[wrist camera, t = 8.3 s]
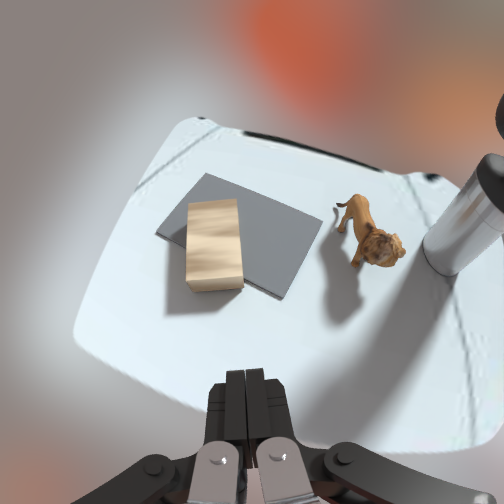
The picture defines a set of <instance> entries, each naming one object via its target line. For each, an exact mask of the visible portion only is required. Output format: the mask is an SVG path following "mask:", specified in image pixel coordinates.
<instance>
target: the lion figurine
mask: <svg viewBox="0 0 504 504" xmlns="http://www.w3.org/2000/svg"><path fill="white" fill-rule="evenodd" d="M336 204H337V206H338V207H345V206H347V208H346V213H345V215H344V216H343V218H342V220H341V223H340V225H339V227H338V231H339V232H344V231H345V222H346V221H347V219H349V218H350V217H353V227H354V233H355V236H356V238H357V240H358V242H359V245H358V248H357V251H356V254H355V256H354V258H353V260H352V262H351V265H352V266H353V267H358V266H359V262H360V259H361V258H362V257H363V259H364V260H367V261H368V263H370V264H371V265H374V264H376V265H378V266H381V267H392V266H394V265H395V263H396V261H397V260H398V258H402V257H403V256H404V255H405V254H406V250H405V249H404V248H402V245H401V244H402V242H401V240H400V239H399V238H398V235H397V234H396V233H395V234H393V235H391V234H389V233H388V234H387V233H386V232H385V231H384V230H381V229H377V228H376V226H375V224H374V221H373V219H372V217H371V215H370V212H369V202H368V200H367V199H366V198H365V197H364V196H361V195H360V194H355V195H353V196H352V198H351V199H350V200H349V201H348V202H347V203H344V204H341V203H336Z"/></svg>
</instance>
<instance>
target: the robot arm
mask: <svg viewBox="0 0 504 504" xmlns="http://www.w3.org/2000/svg"><path fill="white" fill-rule="evenodd" d="M495 120H496V126H497V129H498V131H499V133H500V135H501V136H502V138H503V139H504V94H503V96H502V98H501V99H500V102H499V104H498V107H497V110H496V117H495ZM503 233H504V157H503V156H500V155H497V154H492V153H490V154H487V155H485V156H484V157H483V158H482V160H481V161H480V163H479V164H478V166H477V167H476V169H475V170H474V172H473V173H472V175H471V176H470V178H469V179H468V180H467V182H466V183H465V185H464V186H463V188H462V189H461V190H460V192H459V193H458V195H457V196H456V197H455V198H454V200H453V201H452V202H451V204H450V205H449V206H448V208H447V209H446V210H445V211H444V213H443V214H442V215H441V216H440V218H439V219H438V220H437V221H436V223H435V224H434V225H433V226H432V228H431V229H430V230H429V231H428V233H427V234H426V235H425V237H424V240H423V249H424V253H425V256H426V258H427V260H428V262H429V263H430V265H431V266H432V267H433V268H434V269H435V270H436V271H437V272H439V273H440V274H442V275H444V276H454V275H456V274H457V273H458V272H460V271H461V270H462V269H463V268H465V267H466V266H467V265H468V264H470V263H471V262H472V261H473V260H474V259H475V258H477V257H478V256H479V255H480V254H481V253H482V252H483V251H485V250H486V249H487V248H488V247H489V246H490V245H491V244H492V243H493V242H494V241H496V240H497V239H498V238H499V237H500V236H501V235H502V234H503ZM252 457H253V462H254V467H255V468H259V474H260V480H261V485H262V491H263V496H264V501H265V504H321V503H320V501H319V499H318V497H317V496H319V497H321V498H322V499H323V500H325V501H327V502H329V503H330V504H497V502H496V499H495V498H494V496H492V495H491V494H489V493H485V492H481V491H476V490H473V489H469V488H465V487H462V486H458V485H455V484H452V483H449V482H446V481H443V480H440V479H437V478H434V477H431V476H429V475H426V474H423V473H421V472H418V471H415V470H413V469H410V468H408V467H405V466H403V465H401V464H398V463H396V462H394V461H391V460H389V459H387V458H385V457H382V456H380V455H378V454H376V453H374V452H372V451H370V450H368V449H366V448H364V447H362V446H360V445H358V444H355V443H352V442H342V443H338V444H336V445H334V446H332V447H331V448H330V449H314V448H309V447H306V446H304V445H302V444H300V443H299V442H298V441H297V440H296V438H295V436H294V433H293V428H292V423H291V418H290V413H289V409H288V404H287V399H286V394H285V389H284V386H283V385H282V384H281V383H280V381H279V380H278V379H268V380H264V372H263V368H258V369H247V370H246V378H245V371H244V370H235V371H227V372H226V383H218V384H214V386H213V387H212V389H211V390H210V392H209V398H208V407H207V418H206V428H205V439H204V444H203V446H202V447H201V448H200V449H199V451H198V452H197V453H196V454H194V455H192V456H189V457H186V458H182V459H177V460H172V461H171V460H170V459H168V457H166V456H163V455H159V454H154V455H148V456H146V457H144V458H142V459H141V460H139V461H138V462H137V463H135V464H134V465H132V466H131V467H129V468H128V469H126V470H125V471H123V472H122V473H120V474H119V475H117V476H116V477H114V478H113V479H111V480H110V481H108V482H107V483H105V484H103V485H102V486H100V487H98V488H97V489H95V490H94V491H92V492H90V493H89V494H87V495H85V496H83V497H82V498H80V499H78V500H76V501H75V502H73V503H71V504H246V497H247V469H251V468H253V463H252Z"/></svg>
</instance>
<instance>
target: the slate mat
mask: <svg viewBox="0 0 504 504" xmlns="http://www.w3.org/2000/svg"><path fill="white" fill-rule="evenodd" d="M226 199H237V208H238V219H239V231H240V243H241V255H242V267H243V278H244V279H245V280H247V281H249V282H251V283H253V284H255V285H257V286H259V287H261V288H263V289H265V290H267V291H269V292H271V293H273V294H275V295H277V296H279V297H281V298H284V296H285V294H286V293H287V291H288V289H289V287H290V285H291V283H292V281H293V280H294V278H295V276H296V274H297V272H298V270H299V268H300V266H301V264H302V262H303V260H304V259H305V257H306V255H307V253H308V251H309V249H310V247H311V245H312V243H313V241H314V239H315V237H316V235H317V233H318V231H319V229H320V227H321V225H322V223H323V221H321V220H319V219H317V218H315V217H312V216H310V215H308V214H306V213H303V212H301V211H299V210H297V209H294V208H292V207H290V206H287V205H285V204H283V203H280V202H278V201H276V200H273V199H271V198H269V197H266V196H264V195H261V194H259V193H256V192H254V191H251V190H249V189H246V188H244V187H241V186H239V185H236V184H234V183H231V182H229V181H226V180H224V179H221V178H218V177H216V176H213V175H210V174H208V173H205V174H204V175H203V177H202V178H201V179H200V180H199V181H198V182H197V183H196V184H195V185H194V187H193V188H192V189H191V190H190V191H189V192H188V193H187V195H186V196H185V197H184V198H183V199H182V200H181V201H180V203H179V204H178V205H177V206H176V207H175V209H174V210H173V211H172V212H171V213H170V215H169V216H168V217H167V218H166V219H165V221H164V222H163V223H162V224H161V225H160V227H159V228H158V229H157V230H156V232H157V233H159V234H161V235H162V236H164V237H166V238H168V239H170V240H172V241H173V242H175V243H177V244H179V245H181V246H183V247H185V248H186V246H187V220H188V203H197V202H206V201H216V200H226Z"/></svg>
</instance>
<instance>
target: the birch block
mask: <svg viewBox="0 0 504 504" xmlns="http://www.w3.org/2000/svg"><path fill="white" fill-rule="evenodd" d="M186 282H187V283H188V285H189V287H190V288H191V290H192V292H201V291H214V290H226V289H238V288H244V278H243V267H242V255H241V243H240V231H239V219H238V208H237V199H226V200H216V201H206V202H197V203H188V220H187V246H186Z"/></svg>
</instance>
